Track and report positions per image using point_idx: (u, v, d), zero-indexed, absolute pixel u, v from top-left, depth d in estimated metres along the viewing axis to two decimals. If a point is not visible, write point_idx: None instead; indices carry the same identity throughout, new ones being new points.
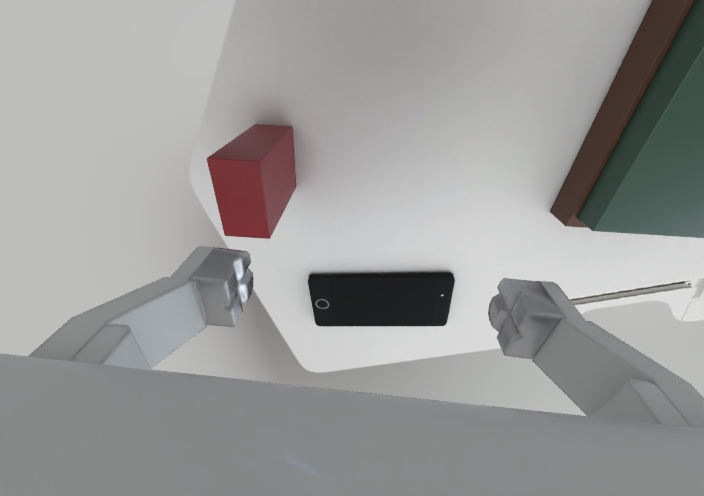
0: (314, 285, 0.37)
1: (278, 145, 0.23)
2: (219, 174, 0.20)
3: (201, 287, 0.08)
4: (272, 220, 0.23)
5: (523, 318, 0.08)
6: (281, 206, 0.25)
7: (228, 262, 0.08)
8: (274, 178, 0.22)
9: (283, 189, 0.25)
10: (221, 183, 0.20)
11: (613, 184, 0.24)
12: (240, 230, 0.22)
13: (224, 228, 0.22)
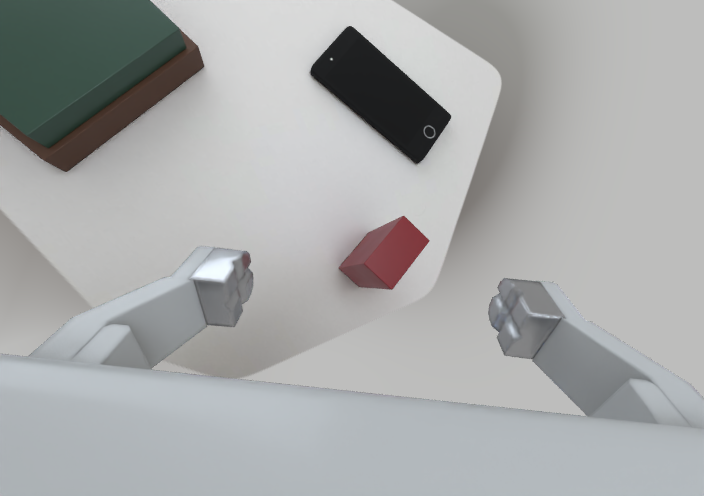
0: (421, 152, 0.39)
1: (351, 264, 0.30)
2: (394, 275, 0.26)
3: (201, 287, 0.08)
4: (392, 225, 0.28)
5: (523, 318, 0.08)
6: (383, 228, 0.31)
7: (228, 262, 0.08)
8: (369, 248, 0.29)
9: (373, 237, 0.31)
10: (398, 270, 0.26)
11: (147, 57, 0.27)
12: (416, 235, 0.27)
13: (425, 245, 0.27)
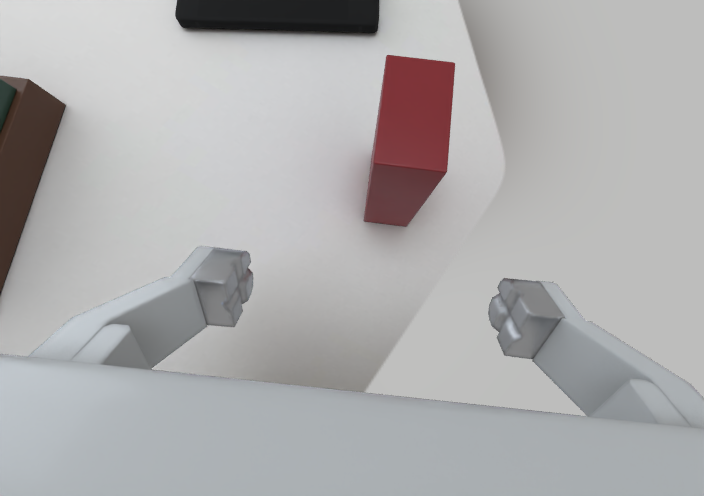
0: (369, 13, 0.26)
1: None
2: (435, 149, 0.14)
3: (201, 287, 0.08)
4: None
5: (523, 318, 0.08)
6: None
7: (228, 262, 0.08)
8: None
9: (374, 141, 0.19)
10: (435, 137, 0.14)
11: None
12: (428, 69, 0.15)
13: (452, 73, 0.15)
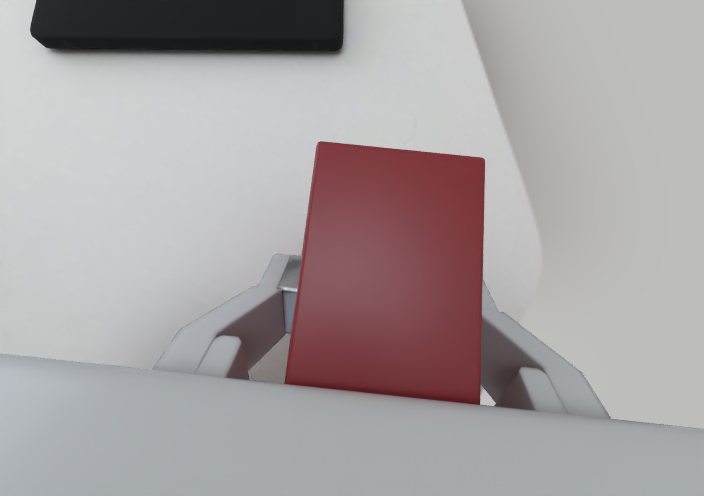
0: (329, 22, 0.17)
1: None
2: None
3: (288, 296, 0.08)
4: None
5: None
6: None
7: None
8: None
9: None
10: (443, 374, 0.05)
11: None
12: (420, 177, 0.06)
13: (479, 187, 0.06)
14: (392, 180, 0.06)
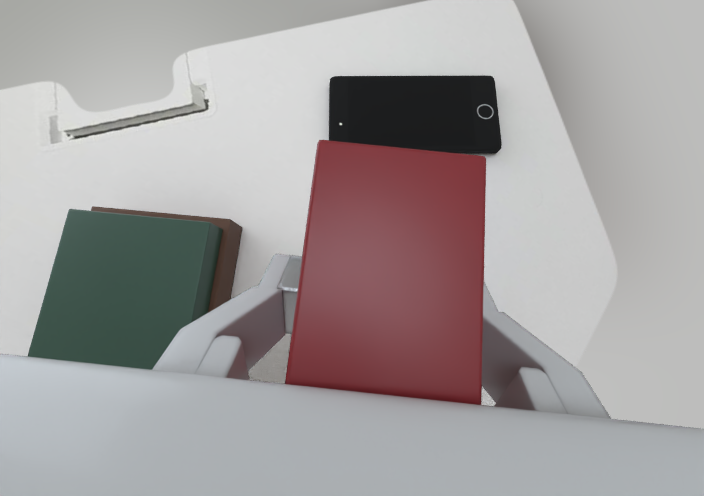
0: (494, 139, 0.31)
1: None
2: None
3: (288, 296, 0.08)
4: None
5: None
6: None
7: None
8: None
9: None
10: (445, 373, 0.05)
11: (204, 271, 0.24)
12: (421, 175, 0.06)
13: (480, 185, 0.06)
14: (393, 178, 0.06)
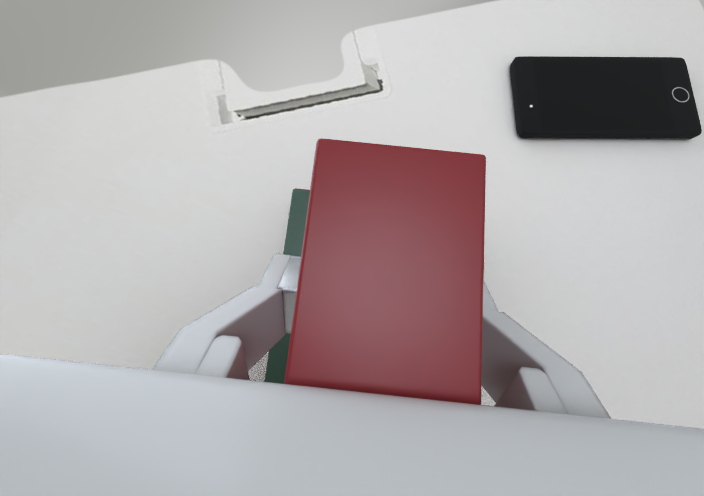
0: (693, 123, 0.29)
1: None
2: None
3: (288, 296, 0.08)
4: None
5: None
6: None
7: None
8: None
9: None
10: (444, 372, 0.05)
11: None
12: (420, 174, 0.06)
13: (480, 184, 0.06)
14: (392, 177, 0.06)
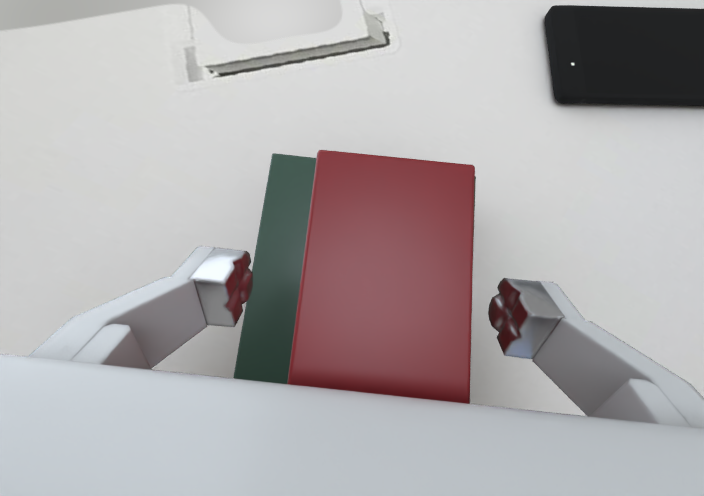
0: None
1: None
2: None
3: (201, 287, 0.08)
4: None
5: (523, 318, 0.08)
6: None
7: (228, 262, 0.08)
8: None
9: None
10: (435, 367, 0.06)
11: None
12: (414, 183, 0.06)
13: (469, 192, 0.06)
14: (388, 186, 0.06)
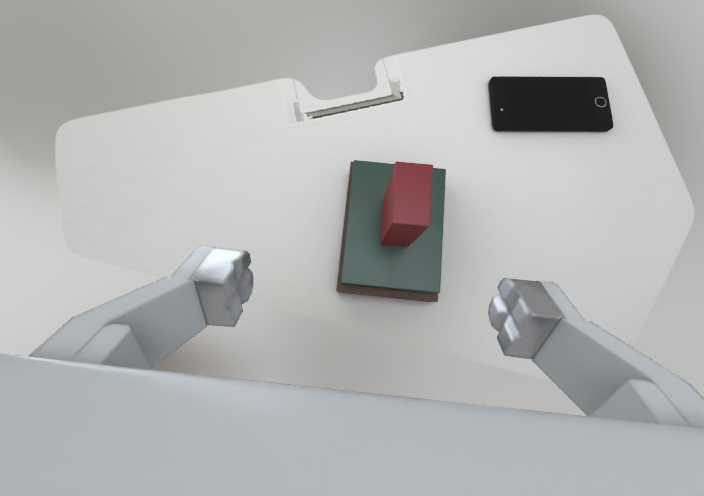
0: (608, 121, 0.44)
1: (385, 232, 0.31)
2: (423, 214, 0.27)
3: (201, 287, 0.08)
4: (393, 176, 0.28)
5: (523, 318, 0.08)
6: (389, 185, 0.31)
7: (228, 262, 0.08)
8: (389, 208, 0.29)
9: (387, 198, 0.32)
10: (423, 207, 0.27)
11: None
12: (418, 169, 0.27)
13: (431, 171, 0.27)
14: (412, 170, 0.27)
